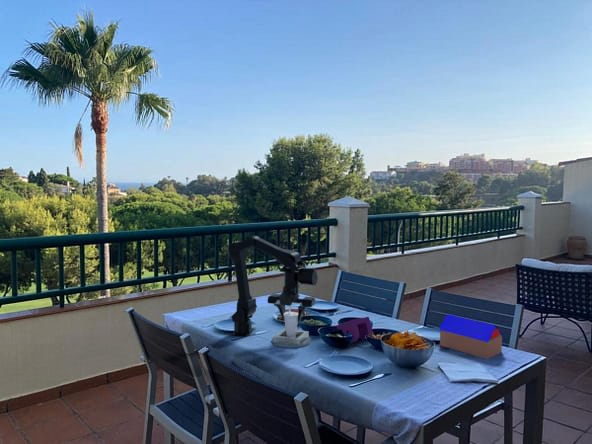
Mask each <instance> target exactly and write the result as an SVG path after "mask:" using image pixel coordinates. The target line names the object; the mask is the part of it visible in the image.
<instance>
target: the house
mask: <svg viewBox="0 0 592 444" xmlns="http://www.w3.org/2000/svg"><path fill="white" fill-rule="evenodd" d="M438 330H439V346H441V347H444V348H447V349H452V350H454V351H457V352H462V353H465V354H467V355H472V356H474V357H477V358H481V359H484V360H488V359H490V358H493V357H494V356H497V355H498V354H500V353H503V352H502V351H503V350H502V349H503V336H504V334H503V333H502V332H501V330H500V328H499V327H498V326H497V325H495V324H492V323H487V322H483V321H478V320H473V319H469V318H465V317H460V316H456V315H452V314H447V315H446V316H445V318H444V320H443V322H442V323H441V326H440V327H439V328H438Z"/></svg>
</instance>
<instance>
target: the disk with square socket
mask: <svg viewBox="0 0 592 444" xmlns="http://www.w3.org/2000/svg"><path fill="white" fill-rule="evenodd" d="M309 334H310V333H309V331H307V330H300V329H298V330H297V331H296V338H293V337H287V336H286V328H283V329H281V330H280V331H279V332H278V333H277V334H275V335H274V336H273V337H272V338H271V343H272V344H273V345H274V346H276V347H280V348H284V349H296V348H297V349H298V348H304V347H307V346H309V345H311V343H312V339H311V337H310V336H309Z"/></svg>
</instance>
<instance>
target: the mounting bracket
mask: <svg viewBox="0 0 592 444" xmlns="http://www.w3.org/2000/svg"><path fill="white" fill-rule="evenodd" d="M332 327H337V328H338V329H339V330H340V329H341V330H342V331H341V332H343V333H345V334H348V333H349V332H350V335H352V336H354V338H353V340H352V342H351V343H350V344H352V343H356V342H358V341H359V339H361V340H363V341H365V340H367V339H366V338H365V335H368V334H372V335H373V328H372V327H373V326H372V323H371V320H370V317H369V316H365V317H359V318H356V319H350V320H347V321H345V322H342V323H339V324H337V325H334V326H332ZM343 333H342V334H343Z"/></svg>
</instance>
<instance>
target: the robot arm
mask: <svg viewBox="0 0 592 444" xmlns="http://www.w3.org/2000/svg"><path fill="white" fill-rule="evenodd" d="M252 248H255V249H257V250H259V251H260V252H264V253H265V254H267V255H269V256H271V257H273V258H275V259H276V260H277V261H278V262H279V263H280V264H281V265H282V267H281V268H280V269H279V272H281V273H284V279H283V280H284V281H283V282H284V286H283V288H282V292H281V293H280V294H279V293H273V294H271V295H269V296H268V297H267V303H268V304H272V305H273V306H275V307H276V308H278V311H279V313H280V317H281V319H282V321H284V322H285V319H284V313H285V312H286V306H287V307H289V306H290V305H291V306H292V305H293V303H294V304H299V306H298V307H297V308H298V312H297V313H298V323H300V322H301V319H302V317H303V315H304V312H305V310H306V309H307V308H312V307H314V306H315V305H316V298H315V297H312V296H305V297H303V298H300V294H299V293H300V292H299V288H300V285H305V286H306V285H307V286H316V285H317V283H318V277H319V275H318V273H317V271H316V267H307V266H306V265H305V263H304V262H303V260H302V259H301V258H302V257H301V255H300V253H299V252H298V251H295V250H292V249H285V248H282V247H279V246H278V245H275V244H273V243H271V242H269V241H267V240H265V239H262V238H261V237H259V236H258V235H252V236H250V237H247V238H246V239H243V240H238V241H232V242H231V243H230V244H229V245H228V248H227V250H228V254H229V257H230V259H231V260H232V262H233V264H234V271H235V273H234V274H235V278H236V285H237V292H238V293H237V294H238V298H237V301H236V311H235V312H234V313H233V314H232V315H231V317H230V318H231V321H232V322H233V324H234V325H233V329H234V331H233V333H232V335H233V336H239V337H247V336H249V335H250V334H251V333H252V334H253V328H252V326H253V325H252V324H253V323H252V321H251V319H252V318H253V315H255V313H256V310H257V308H258V305H257V300H256V298H255V297H254V298H253V297H252V296H251V293H250V285H249V278H248V270H247V263H246V262H247V258H248V252H249V251H248V250H250V249H252Z"/></svg>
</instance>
